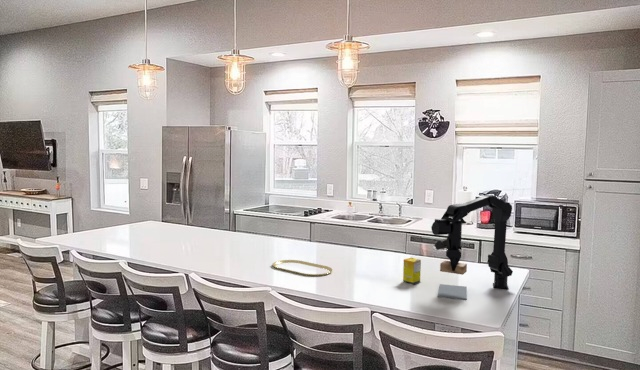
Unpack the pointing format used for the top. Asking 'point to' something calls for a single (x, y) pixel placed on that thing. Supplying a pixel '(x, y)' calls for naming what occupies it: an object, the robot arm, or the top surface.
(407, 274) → the supplement box
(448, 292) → the slate mat
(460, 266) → the cardboard box
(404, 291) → the top surface
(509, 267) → the robot arm
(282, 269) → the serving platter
